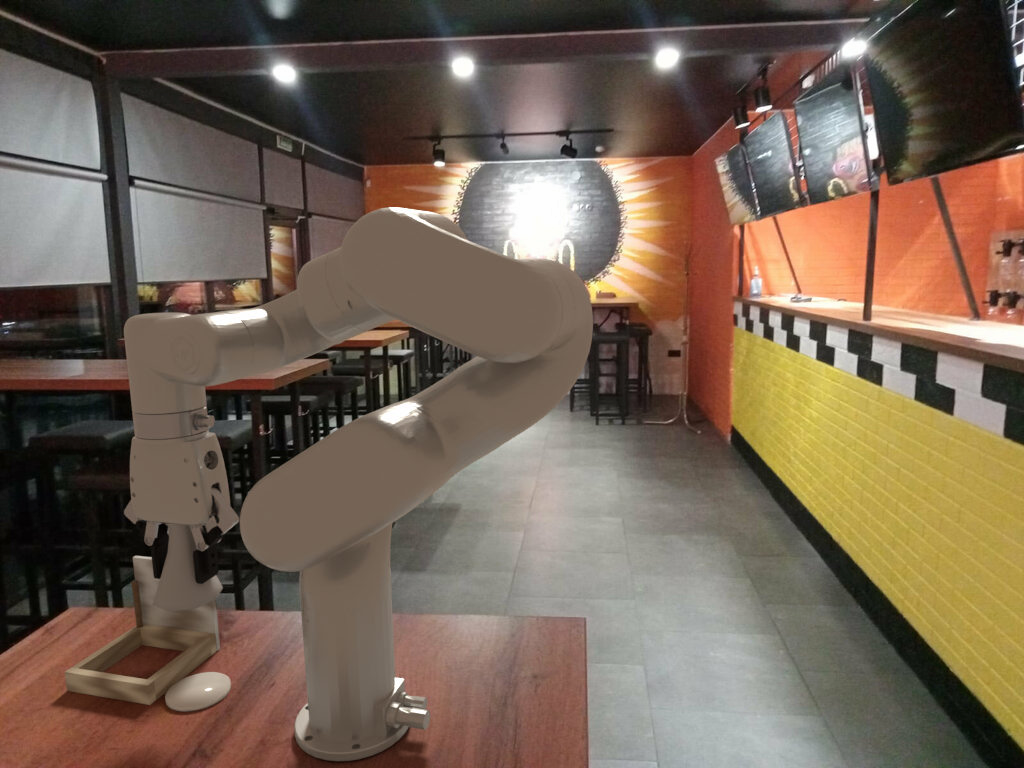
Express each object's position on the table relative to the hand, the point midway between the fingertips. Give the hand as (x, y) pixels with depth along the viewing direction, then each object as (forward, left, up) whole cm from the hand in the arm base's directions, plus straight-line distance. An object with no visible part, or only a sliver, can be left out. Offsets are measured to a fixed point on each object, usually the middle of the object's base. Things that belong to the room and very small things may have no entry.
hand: (186, 574), depth 83 cm
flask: (0, 0, -3) cm, 3 cm away
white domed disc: (0, 0, -15) cm, 15 cm away
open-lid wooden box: (+10, -3, -15) cm, 18 cm away
